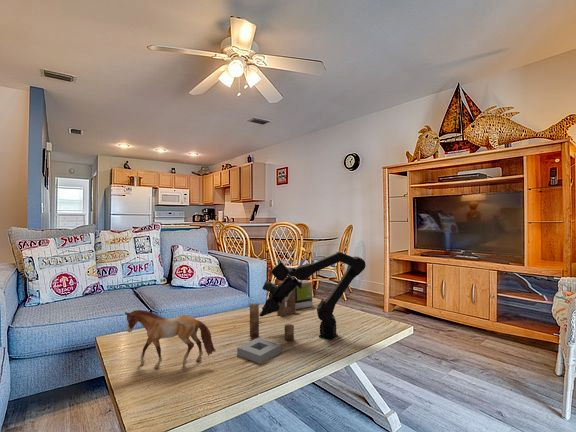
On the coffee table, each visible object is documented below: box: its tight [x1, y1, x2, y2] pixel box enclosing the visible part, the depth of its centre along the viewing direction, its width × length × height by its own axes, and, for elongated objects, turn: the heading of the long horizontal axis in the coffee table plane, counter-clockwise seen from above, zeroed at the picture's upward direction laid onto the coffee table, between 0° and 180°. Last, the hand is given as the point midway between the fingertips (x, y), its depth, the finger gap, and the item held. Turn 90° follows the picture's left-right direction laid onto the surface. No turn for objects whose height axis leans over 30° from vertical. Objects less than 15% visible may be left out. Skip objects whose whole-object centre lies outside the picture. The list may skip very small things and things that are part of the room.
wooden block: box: [276, 280, 296, 317], centre depth 168 cm, size 4×11×18 cm, turn 135°
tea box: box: [285, 279, 313, 310], centre depth 182 cm, size 15×10×15 cm, turn 115°
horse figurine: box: [124, 309, 217, 369], centre depth 109 cm, size 31×8×21 cm, turn 96°
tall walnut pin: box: [249, 302, 260, 339], centre depth 136 cm, size 4×4×14 cm
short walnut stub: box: [284, 323, 295, 342], centre depth 132 cm, size 4×4×6 cm
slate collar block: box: [236, 337, 282, 365], centre depth 118 cm, size 12×12×3 cm
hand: (261, 312), depth 136 cm, fingers open, 9 cm apart
